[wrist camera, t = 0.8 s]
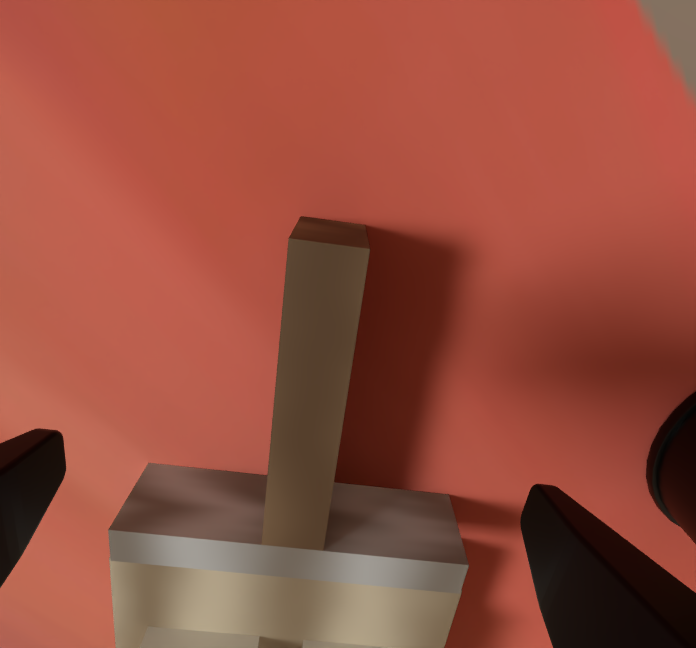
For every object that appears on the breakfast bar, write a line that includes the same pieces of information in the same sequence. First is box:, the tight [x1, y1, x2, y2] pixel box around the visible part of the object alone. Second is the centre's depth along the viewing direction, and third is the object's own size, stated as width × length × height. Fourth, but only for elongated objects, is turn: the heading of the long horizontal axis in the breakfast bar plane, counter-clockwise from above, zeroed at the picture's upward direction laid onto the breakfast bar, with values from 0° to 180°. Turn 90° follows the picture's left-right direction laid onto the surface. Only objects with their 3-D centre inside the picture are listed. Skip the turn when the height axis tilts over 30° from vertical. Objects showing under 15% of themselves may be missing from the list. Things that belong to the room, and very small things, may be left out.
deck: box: [109, 557, 462, 648], centre depth 23 cm, size 15×11×3 cm
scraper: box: [108, 216, 469, 594], centre depth 18 cm, size 14×14×4 cm
